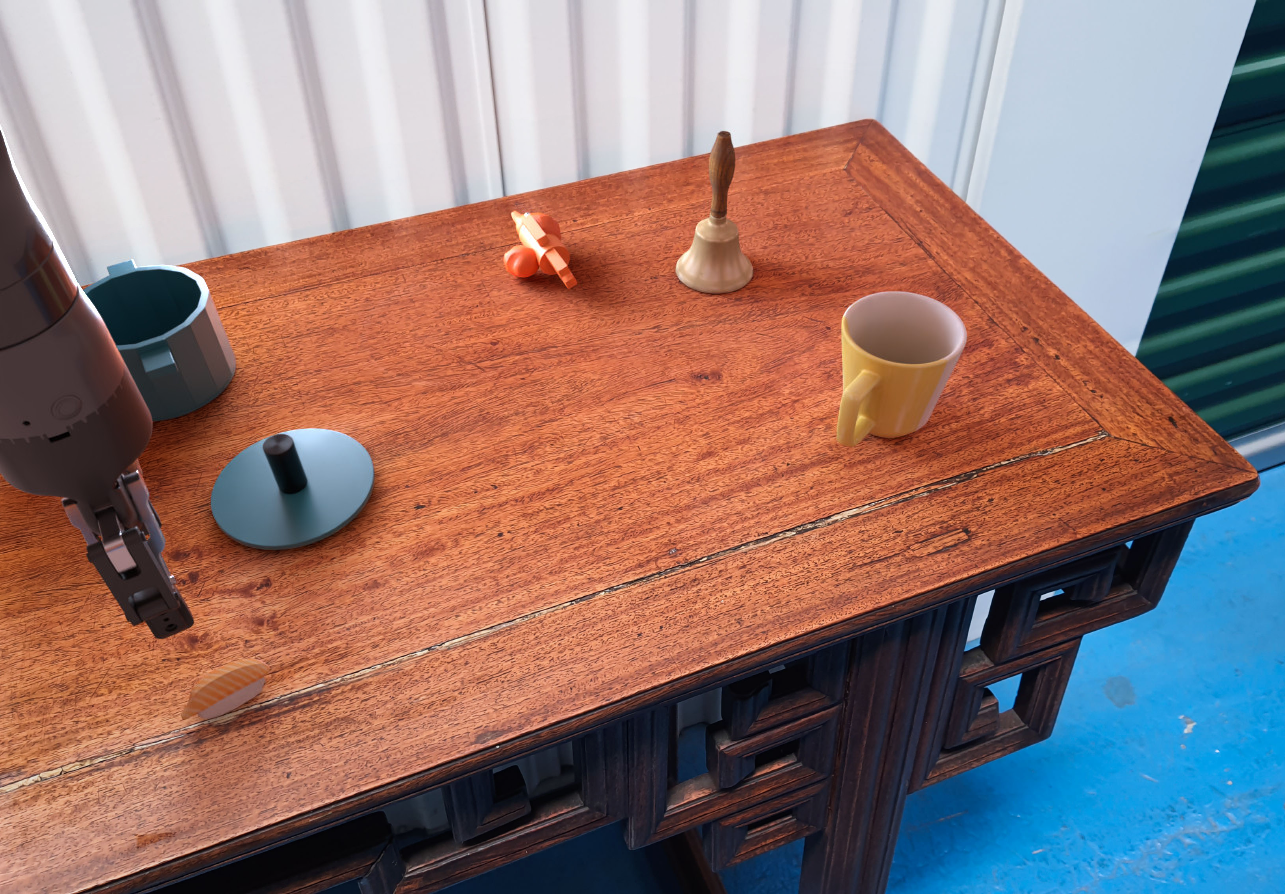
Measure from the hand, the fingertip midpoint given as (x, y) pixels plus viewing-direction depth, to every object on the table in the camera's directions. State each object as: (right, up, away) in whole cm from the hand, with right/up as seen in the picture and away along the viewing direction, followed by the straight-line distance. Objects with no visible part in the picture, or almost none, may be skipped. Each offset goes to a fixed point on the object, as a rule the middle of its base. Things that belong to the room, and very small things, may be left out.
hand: (160, 578), depth 60 cm
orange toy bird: (+18, +27, +46) cm, 57 cm away
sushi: (0, -10, +10) cm, 14 cm away
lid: (0, +5, +24) cm, 24 cm away
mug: (+50, +10, +29) cm, 59 cm away
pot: (-16, +15, +34) cm, 41 cm away
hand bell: (+37, +27, +46) cm, 65 cm away
